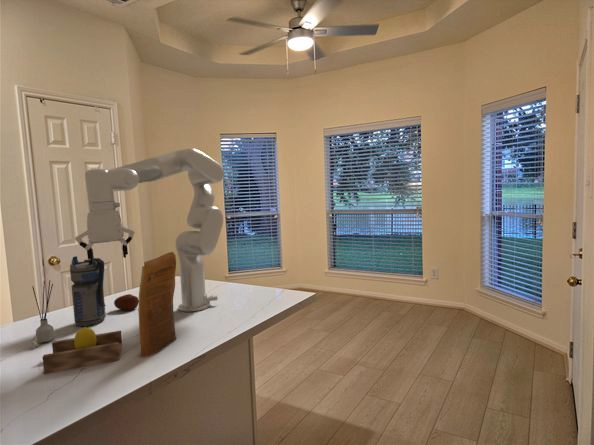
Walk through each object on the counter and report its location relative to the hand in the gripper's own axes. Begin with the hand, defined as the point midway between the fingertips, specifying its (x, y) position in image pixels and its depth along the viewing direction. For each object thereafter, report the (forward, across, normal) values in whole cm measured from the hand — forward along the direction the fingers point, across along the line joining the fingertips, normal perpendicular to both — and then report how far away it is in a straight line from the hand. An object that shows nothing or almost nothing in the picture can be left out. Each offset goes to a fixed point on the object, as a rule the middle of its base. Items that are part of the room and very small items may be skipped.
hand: (108, 259), depth 120 cm
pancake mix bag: (+26, -13, +18) cm, 34 cm away
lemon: (+24, +7, +16) cm, 30 cm away
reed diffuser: (+26, +21, -4) cm, 33 cm away
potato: (+27, -2, -29) cm, 40 cm away
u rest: (+25, +7, +17) cm, 31 cm away
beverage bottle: (+26, +10, -18) cm, 33 cm away
